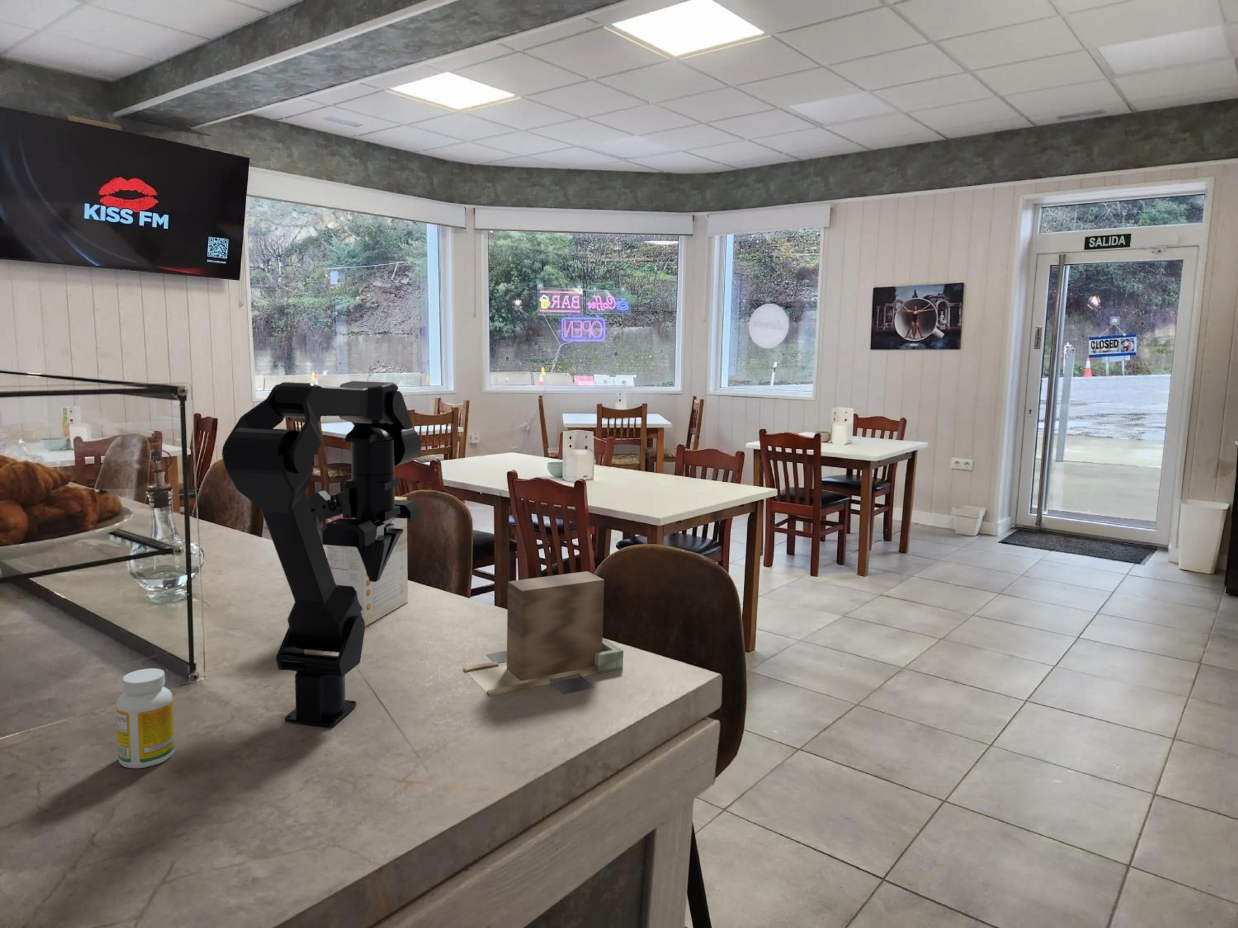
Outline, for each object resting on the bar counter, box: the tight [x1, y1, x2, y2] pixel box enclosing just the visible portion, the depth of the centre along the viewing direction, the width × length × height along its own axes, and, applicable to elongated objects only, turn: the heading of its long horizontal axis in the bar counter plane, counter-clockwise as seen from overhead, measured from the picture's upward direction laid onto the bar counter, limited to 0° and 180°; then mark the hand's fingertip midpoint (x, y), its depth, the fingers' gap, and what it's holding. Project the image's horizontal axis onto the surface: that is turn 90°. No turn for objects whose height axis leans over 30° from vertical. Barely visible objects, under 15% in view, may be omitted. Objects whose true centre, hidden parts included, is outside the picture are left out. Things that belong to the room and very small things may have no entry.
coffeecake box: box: [325, 495, 409, 628], centre depth 139 cm, size 15×7×20 cm, turn 165°
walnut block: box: [506, 570, 605, 681], centre depth 118 cm, size 13×5×13 cm, turn 121°
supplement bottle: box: [115, 668, 175, 769], centre depth 89 cm, size 5×5×10 cm
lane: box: [462, 637, 624, 697], centre depth 117 cm, size 21×18×3 cm
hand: (374, 580), depth 115 cm, fingers closed
